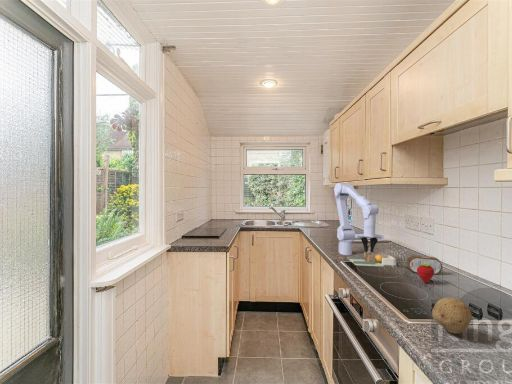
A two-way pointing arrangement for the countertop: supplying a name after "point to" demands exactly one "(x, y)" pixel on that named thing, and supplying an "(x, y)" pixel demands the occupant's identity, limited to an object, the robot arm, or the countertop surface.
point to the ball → (378, 258)
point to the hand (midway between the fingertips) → (368, 251)
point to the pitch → (385, 260)
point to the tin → (418, 260)
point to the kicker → (368, 255)
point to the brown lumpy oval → (452, 315)
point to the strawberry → (425, 272)
